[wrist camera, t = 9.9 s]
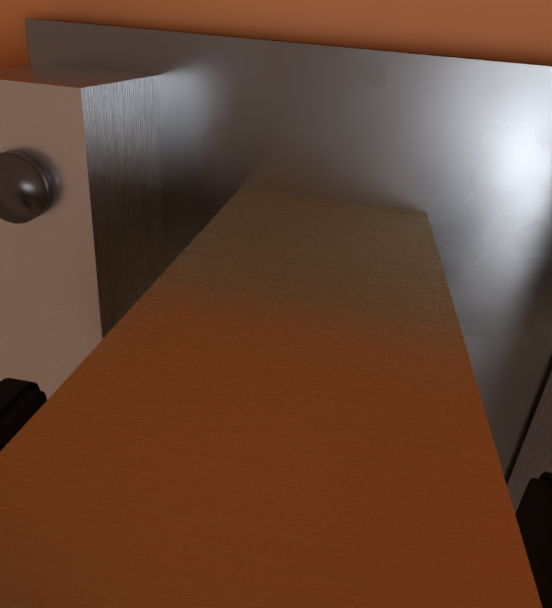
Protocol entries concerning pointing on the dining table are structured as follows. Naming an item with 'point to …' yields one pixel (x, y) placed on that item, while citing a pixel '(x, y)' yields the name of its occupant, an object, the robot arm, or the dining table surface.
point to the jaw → (534, 449)
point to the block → (270, 434)
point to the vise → (268, 181)
